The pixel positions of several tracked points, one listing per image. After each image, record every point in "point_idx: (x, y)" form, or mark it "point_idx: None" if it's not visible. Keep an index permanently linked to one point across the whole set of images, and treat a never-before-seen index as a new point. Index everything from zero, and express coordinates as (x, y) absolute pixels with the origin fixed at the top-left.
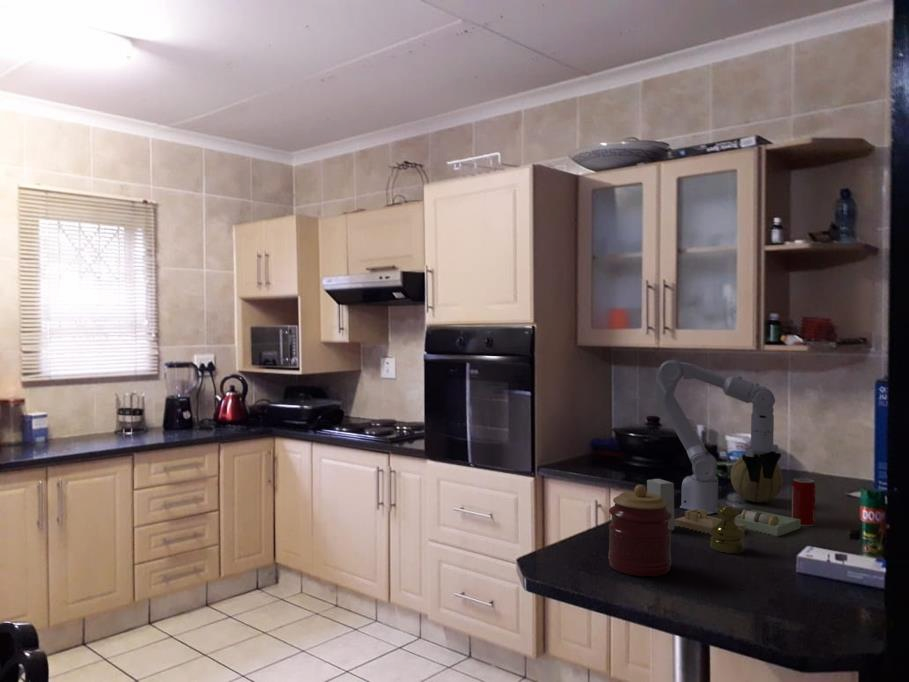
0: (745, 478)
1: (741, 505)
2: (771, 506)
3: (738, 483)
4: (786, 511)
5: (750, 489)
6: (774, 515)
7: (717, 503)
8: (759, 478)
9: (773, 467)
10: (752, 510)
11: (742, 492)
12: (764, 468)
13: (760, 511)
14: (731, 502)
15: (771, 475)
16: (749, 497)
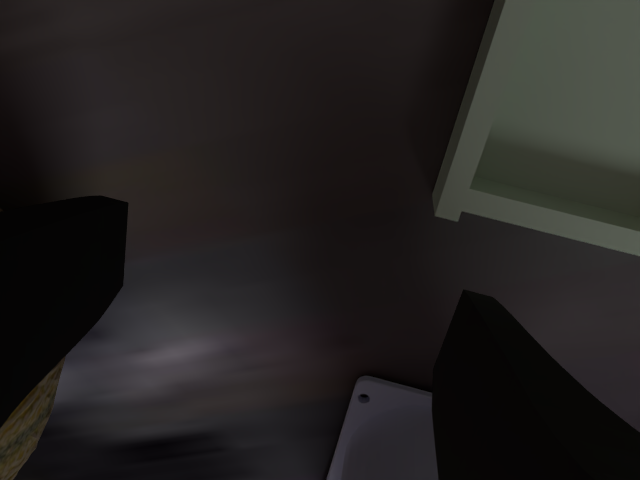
0: (12, 425)
1: (143, 316)
2: (13, 159)
3: (40, 432)
4: (66, 35)
5: None
6: (524, 23)
7: (419, 435)
8: (482, 307)
9: (14, 241)
10: (467, 212)
11: (62, 364)
12: (42, 352)
13: (465, 153)
14: (116, 373)
15: (102, 215)
16: None
